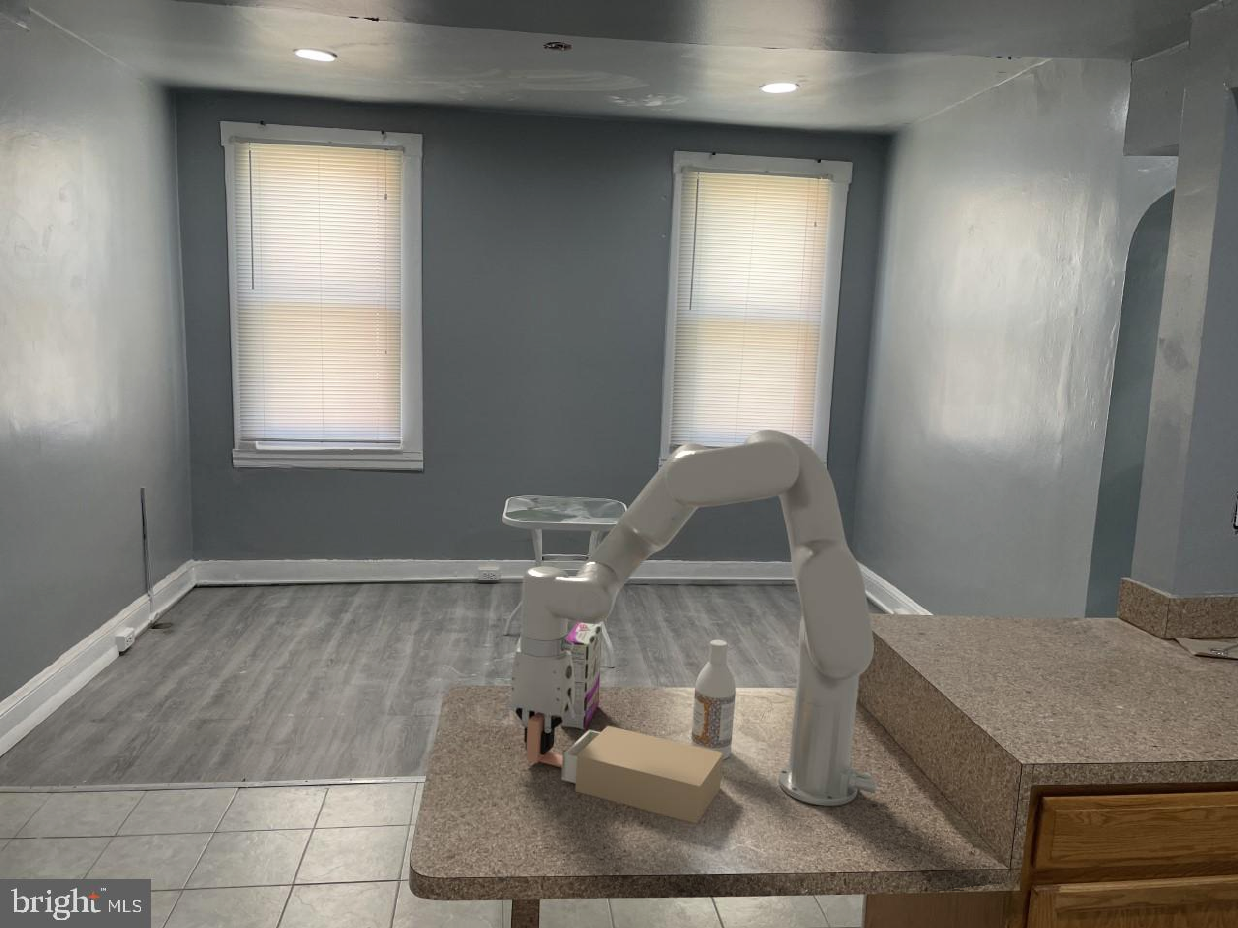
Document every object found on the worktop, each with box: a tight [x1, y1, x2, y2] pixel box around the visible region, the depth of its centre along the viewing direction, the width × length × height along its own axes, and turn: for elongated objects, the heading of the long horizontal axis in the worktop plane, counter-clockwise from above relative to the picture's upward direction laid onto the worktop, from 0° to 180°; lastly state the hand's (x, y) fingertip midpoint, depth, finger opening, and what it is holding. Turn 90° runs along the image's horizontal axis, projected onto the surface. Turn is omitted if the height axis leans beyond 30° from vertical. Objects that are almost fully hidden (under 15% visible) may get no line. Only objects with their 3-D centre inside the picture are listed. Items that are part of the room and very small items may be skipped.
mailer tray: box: [525, 712, 602, 784], centre depth 149 cm, size 27×10×7 cm, turn 67°
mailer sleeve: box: [574, 725, 723, 825], centre depth 147 cm, size 20×12×6 cm, turn 67°
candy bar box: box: [560, 622, 603, 730], centre depth 171 cm, size 11×5×16 cm, turn 168°
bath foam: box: [690, 639, 737, 761], centre depth 159 cm, size 7×7×20 cm
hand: (538, 748), depth 154 cm, fingers closed on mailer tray, 2 cm apart
